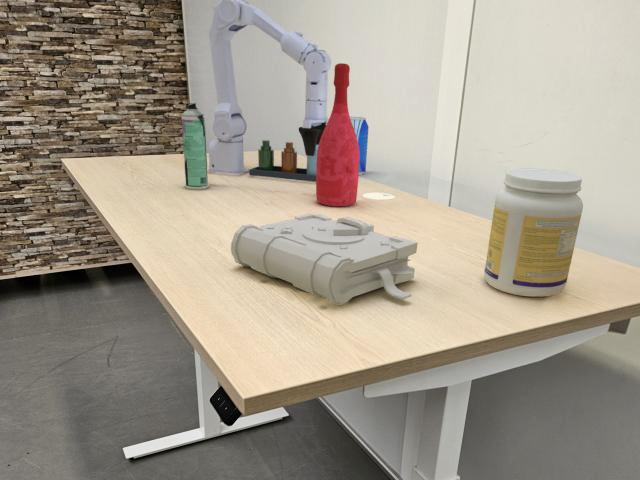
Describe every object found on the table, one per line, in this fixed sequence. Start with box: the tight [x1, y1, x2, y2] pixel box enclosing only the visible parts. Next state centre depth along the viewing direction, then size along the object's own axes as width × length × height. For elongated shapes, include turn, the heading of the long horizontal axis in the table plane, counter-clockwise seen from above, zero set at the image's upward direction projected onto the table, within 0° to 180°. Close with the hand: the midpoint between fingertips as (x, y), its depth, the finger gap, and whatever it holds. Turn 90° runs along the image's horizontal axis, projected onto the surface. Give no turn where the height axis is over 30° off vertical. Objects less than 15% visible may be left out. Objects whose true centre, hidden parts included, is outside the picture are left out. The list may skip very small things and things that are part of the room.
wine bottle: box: [315, 62, 360, 207], centre depth 129 cm, size 10×10×30 cm
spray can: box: [181, 102, 209, 191], centre depth 141 cm, size 6×6×20 cm
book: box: [230, 212, 418, 307], centre depth 87 cm, size 19×28×8 cm
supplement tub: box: [483, 167, 584, 298], centre depth 86 cm, size 12×12×17 cm
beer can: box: [349, 115, 369, 176], centre depth 166 cm, size 8×8×16 cm
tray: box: [248, 165, 316, 183], centre depth 162 cm, size 21×9×2 cm, turn 72°
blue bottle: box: [306, 144, 319, 176], centre depth 158 cm, size 4×4×9 cm
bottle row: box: [257, 139, 298, 174], centre depth 161 cm, size 11×4×9 cm, turn 72°
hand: (314, 153), depth 157 cm, fingers open, 7 cm apart
